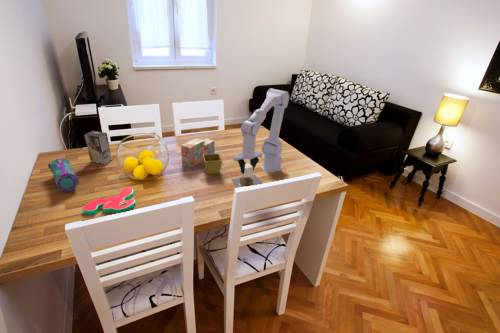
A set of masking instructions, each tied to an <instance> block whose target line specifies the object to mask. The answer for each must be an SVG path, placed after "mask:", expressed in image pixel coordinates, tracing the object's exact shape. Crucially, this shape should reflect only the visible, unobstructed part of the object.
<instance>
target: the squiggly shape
mask: <svg viewBox="0 0 500 333" xmlns="http://www.w3.org/2000/svg"><path fill="white" fill-rule="evenodd" d="M134 195H135V194H134V189H133V188H132V187H130V186H128V187H124V188H122V190H120V192H119V194H118V195H112V196H109V197H108V198H98V199H95V200H92V201H90V202H89V203H87V204H85V205H84V206H83V207H82V212H83V214H85V215H89V216H90V215H91V216H92V215H96V214H97V213H98V212H99V210H100V209H102V212H103V213H105V214H107V213H114V214H121V213H120V212H123V213H125V212H124V211H126V212H128V211H130V210H132V209H133V208H134V207H136V205H137V204H136V200H135V199H132V198H133V197H134Z"/></svg>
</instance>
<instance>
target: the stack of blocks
mask: <svg viewBox="0 0 500 333" xmlns="http://www.w3.org/2000/svg"><path fill="white" fill-rule="evenodd" d="M215 148H216V147H215V140H212V139H210V138H204V139H200V138H197V137H196V138H194V139H191V140H189V141H187V142H184V143H183V144H180V149H181V150H180V153H181V154H180V155H181V165H183V166H185V167H187V168H190V169H191V168H194V166H196V165H198V164H201V163H202V162H204V159H203V155H204V154H216V153H215Z"/></svg>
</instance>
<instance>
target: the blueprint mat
mask: <svg viewBox="0 0 500 333" xmlns="http://www.w3.org/2000/svg"><path fill="white" fill-rule="evenodd" d="M250 177H251V178H252V179H253V180H254V181H253V185H257V184H262V183H264V182H263V181H262V180H261V179H260V178H259V177H258V176H257V175H255V174H253V176H250ZM230 181H231V182H232V183H233V184H234V186H236V187H242V186H241V185H240V177H236V178H232V179H231V178H230Z"/></svg>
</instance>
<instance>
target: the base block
mask: <svg viewBox="0 0 500 333" xmlns="http://www.w3.org/2000/svg"><path fill="white" fill-rule="evenodd" d="M239 178H240V185H241V186H242V187H243V186H250V185H253V181H254V180H253V179H252V178H251V177H245V178H244V177H243V176H242V175H241V176H239Z"/></svg>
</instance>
